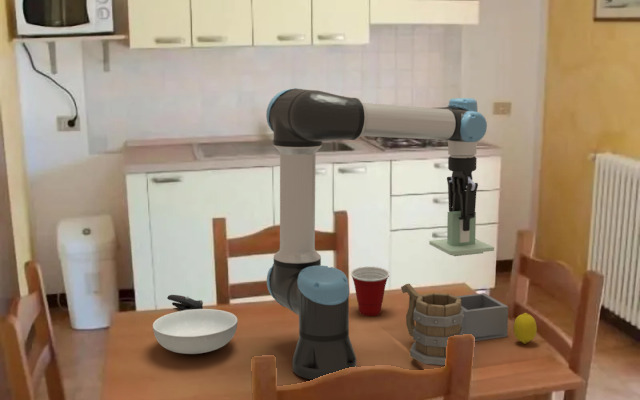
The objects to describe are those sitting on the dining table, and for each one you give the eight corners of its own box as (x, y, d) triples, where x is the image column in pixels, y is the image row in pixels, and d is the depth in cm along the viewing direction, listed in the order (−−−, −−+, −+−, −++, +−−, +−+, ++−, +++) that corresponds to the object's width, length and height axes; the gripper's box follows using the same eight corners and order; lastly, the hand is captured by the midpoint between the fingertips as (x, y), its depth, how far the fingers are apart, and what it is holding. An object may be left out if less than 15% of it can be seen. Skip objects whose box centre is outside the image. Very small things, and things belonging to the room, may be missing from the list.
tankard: (475, 358, 184) (477, 297, 182) (433, 369, 178) (434, 307, 175) (424, 333, 201) (425, 277, 199) (383, 342, 195) (383, 285, 192)
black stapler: (209, 319, 215) (209, 300, 213) (186, 325, 211) (185, 305, 210) (181, 303, 229) (181, 285, 228) (159, 308, 225) (158, 289, 224)
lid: (450, 259, 207) (451, 218, 205) (429, 247, 219) (429, 209, 217) (494, 254, 211) (495, 214, 209) (470, 243, 223) (471, 205, 221)
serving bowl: (250, 336, 201) (249, 310, 200) (218, 367, 181) (217, 339, 180) (177, 329, 207) (175, 305, 205) (138, 359, 187) (136, 332, 186)
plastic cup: (354, 320, 211) (353, 278, 209) (347, 308, 222) (347, 267, 220) (393, 318, 213) (393, 276, 210) (385, 306, 223) (385, 265, 221)
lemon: (520, 348, 190) (521, 317, 188) (509, 341, 195) (510, 310, 193) (540, 346, 191) (541, 315, 190) (528, 338, 196) (529, 308, 195)
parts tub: (465, 342, 194) (465, 311, 193) (443, 326, 206) (443, 297, 204) (507, 336, 198) (508, 306, 196) (483, 321, 209) (484, 293, 208)
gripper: (489, 158, 203) (488, 245, 208) (460, 151, 218) (459, 233, 223) (464, 160, 201) (462, 248, 206) (436, 153, 216) (435, 235, 221)
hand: (461, 240), depth 214 cm, fingers closed on lid, 3 cm apart
